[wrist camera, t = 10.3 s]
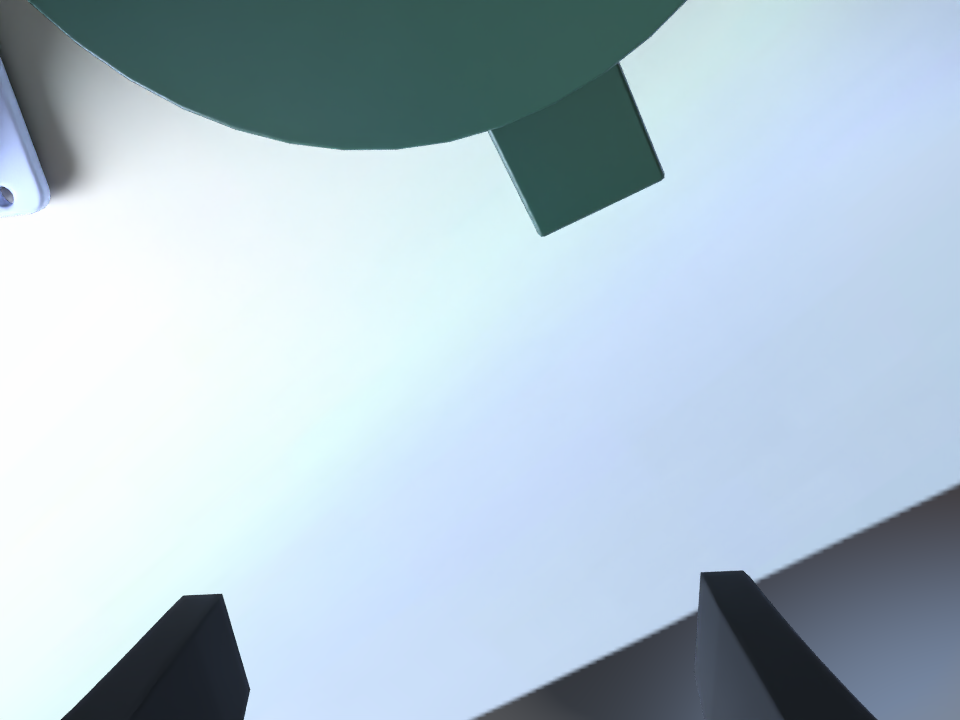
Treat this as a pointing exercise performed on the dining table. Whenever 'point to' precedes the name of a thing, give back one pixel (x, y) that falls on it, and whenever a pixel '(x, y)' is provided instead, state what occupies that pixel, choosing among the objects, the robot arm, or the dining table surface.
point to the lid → (360, 60)
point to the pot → (579, 153)
